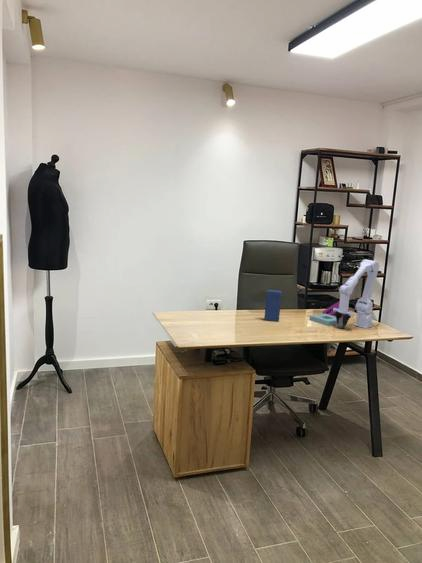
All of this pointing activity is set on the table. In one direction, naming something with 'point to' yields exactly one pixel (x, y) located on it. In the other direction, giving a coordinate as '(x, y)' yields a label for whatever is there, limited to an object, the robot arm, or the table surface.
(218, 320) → the table surface
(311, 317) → the plate
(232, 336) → the table surface
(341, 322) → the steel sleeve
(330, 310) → the purple faceted block
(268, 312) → the electronic device
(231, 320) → the table surface
